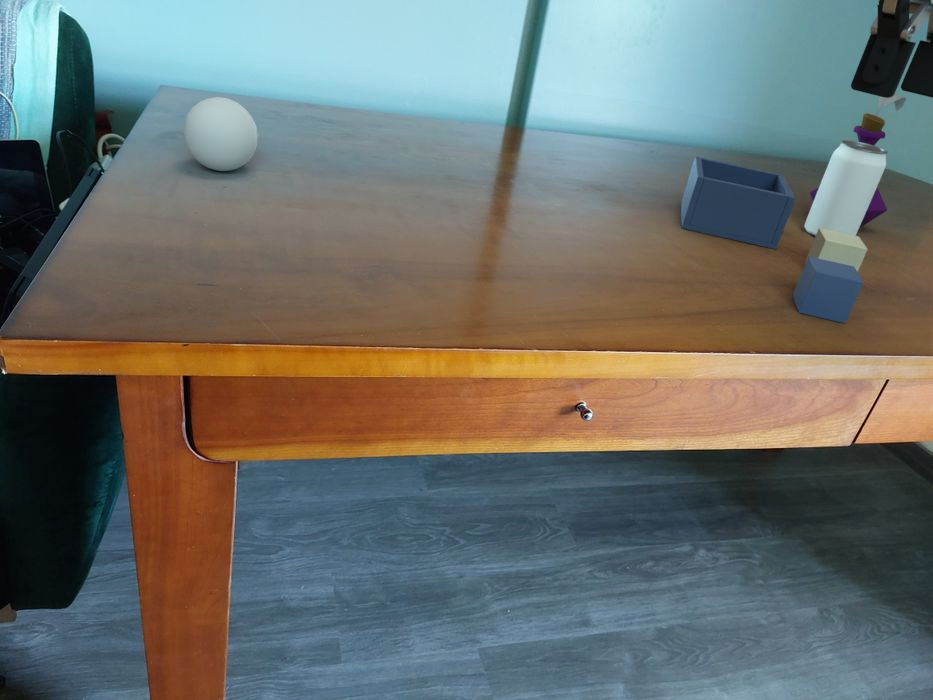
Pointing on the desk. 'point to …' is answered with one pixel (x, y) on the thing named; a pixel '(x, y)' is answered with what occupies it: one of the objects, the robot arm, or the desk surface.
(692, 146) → the desk surface
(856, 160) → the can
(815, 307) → the blue block
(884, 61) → the robot arm
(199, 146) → the ball
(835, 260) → the cream block
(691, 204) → the blue bin
